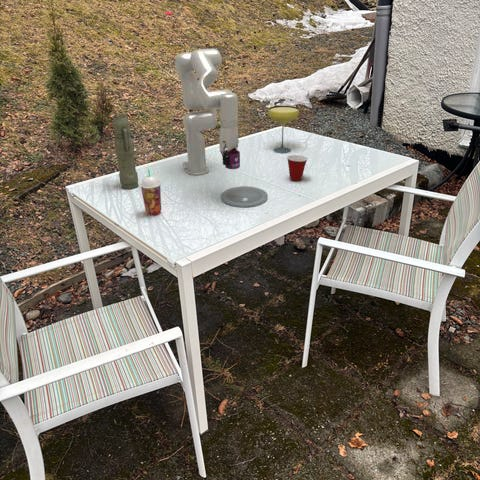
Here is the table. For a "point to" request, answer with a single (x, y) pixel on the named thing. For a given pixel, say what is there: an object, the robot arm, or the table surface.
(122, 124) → the green moai statue
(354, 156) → the table surface
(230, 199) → the dish
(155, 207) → the smoothie
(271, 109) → the cocktail glass
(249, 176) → the table surface
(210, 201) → the table surface
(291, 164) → the plastic cup
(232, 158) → the cup
